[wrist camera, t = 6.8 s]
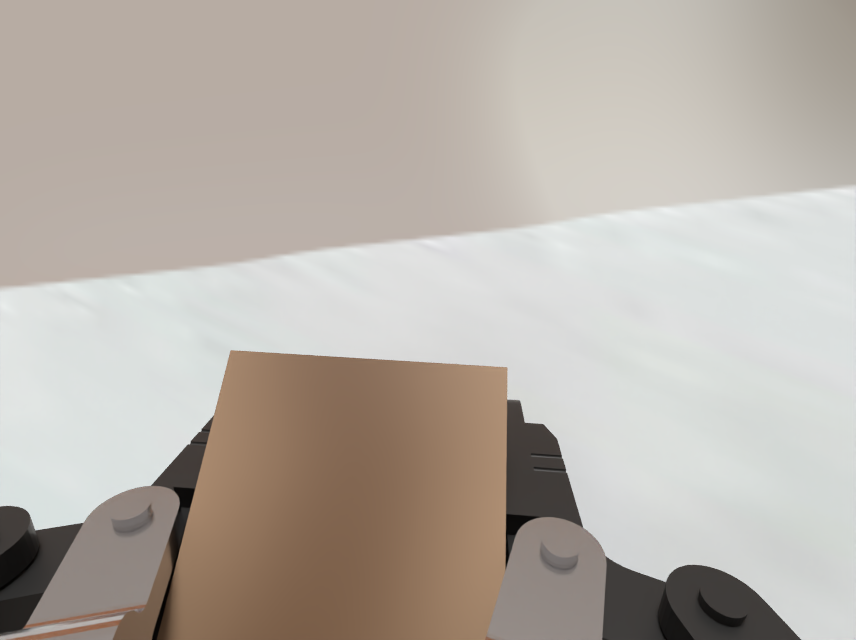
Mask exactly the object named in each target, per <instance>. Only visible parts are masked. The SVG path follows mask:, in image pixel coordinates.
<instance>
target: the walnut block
mask: <svg viewBox="0 0 856 640" xmlns="http://www.w3.org/2000/svg"><path fill="white" fill-rule="evenodd" d="M506 457H507V367H491V366H475V365H459V364H443V363H426V362H410V361H394V360H378V359H362V358H346V357H330V356H314V355H297V354H281V353H265V352H249V351H233V350H231V351H230V355H229V359H228V363H227V367H226V371H225V375H224V379H223V382H222V386H221V390H220V394H219V398H218V402H217V406H216V410H215V414H214V418H213V422H212V426H211V429H210V433H209V437H208V441H207V445H206V449H205V453H204V457H203V461H202V465H201V469H200V472H199V476H198V480H197V484H196V488H195V492H194V496H193V500H192V504H191V508H190V512H189V516H188V519H187V523H186V527H185V531H184V535H183V539H182V543H181V547H180V551H179V555H178V559H177V562H176V566H175V570H174V574H173V578H172V582H171V586H170V590H169V594H168V598H167V602H166V606H165V609H164V613H163V617H162V621H161V625H160V629H159V633H158V637H157V640H485V638H486V635H487V632H488V628H489V625H490V622H491V618H492V615H493V611H494V608H495V604H496V601H497V598H498V594H499V591H500V587H501V584H502V581H503V577H504V574H505V561H506Z"/></svg>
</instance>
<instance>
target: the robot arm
mask: <svg viewBox="0 0 856 640" xmlns="http://www.w3.org/2000/svg"><path fill="white" fill-rule="evenodd" d="M213 418H214V416H213V417H212V418H211V419H210V420H209V422H208V423H207V424H206V425H205V426H204V427H203V428H202V431H201V432H199V433H198V434H197V435H196V436H195V437H194V438H193V439H192V441H191V444H190V445H187V446H186V447H185V448H184V450H183V451H182V452H181V453H180V454H179V455H178V456H177V457H176V458H175V460H174V461H173V462H172V463H171V464H170V465H169V466H168V467H167V469H166V470H165V471H164V472H163V473H162V474H161V475H160V476H159V477H158V479H157V480H156V481H155V482H154V483H153V484H152V485H151V486H145V487H139V488H135V489H131V490H128V491H125V492H122V493H120V494H118V495H116V496H114V497H112V498H110V499H108V500H107V501H105V502H104V503H102V504H101V505H99V506H98V507H97V508H96V509H95V510H93V512H92V513H91V514H90V515H89V516H88V517H87V519H86V520H85V522H84V523H80V524H74V525H67V526H61V527H55V528H49V529H42V530H36V531H35V529H34V526H33V523H32V520H31V517H30V515H29V513H28V512H27V511H26V510H24V509H23V508H19V507H14V506H1V507H0V640H157V637H158V633H159V629H160V625H161V621H162V617H163V613H164V609H165V606H166V602H167V598H168V594H169V590H170V586H171V582H172V578H173V574H174V570H175V566H176V562H177V559H178V555H179V551H180V547H181V543H182V539H183V535H184V531H185V527H186V523H187V519H188V516H189V512H190V508H191V504H192V500H193V496H194V492H195V488H196V484H197V480H198V476H199V472H200V469H201V465H202V461H203V457H204V453H205V449H206V445H207V441H208V437H209V433H210V429H211V426H212V422H213ZM485 640H801V639H800V638H799V637H798V636H797V635H796V634H795V633H794V632H793V631H792V630H791V628H790V627H789V626H788V625H787V624H786V623H785V622H784V621H783V620H782V619H781V618H780V617H779V616H778V615H777V614H776V613H775V611H774V610H773V609H772V608H771V607H770V606H769V605H768V604H767V603H766V602H765V601H764V600H763V599H762V598H761V597H760V596H759V595H758V594H757V593H756V592H755V591H754V590H752V589H751V588H750V587H749V586H747V585H746V584H745V583H743V582H742V581H740V580H738V579H737V578H735V577H733V576H731V575H729V574H727V573H725V572H723V571H720V570H718V569H714V568H711V567H707V566H702V565H686V566H682V567H679V568H677V569H675V570H674V571H673V572H672V573H671V574H670V575H669V577H668V579H667V581H666V582H664V581H661V580H658V579H655V578H652V577H649V576H646V575H643V574H641V573H638V572H635V571H632V570H630V569H627V568H625V567H622V566H621V565H619V564H617V563H615V562H613V561H612V560H610V559H609V558H607V557H606V556H605V553H604V551H603V549H602V547H601V545H600V544H599V542H598V541H597V540H596V539H595V538H594V537H593V535H592V534H590V533H589V532H588V531H587V530H585V529H584V528H583V526H582V522H581V519H580V516H579V512H578V509H577V505H576V502H575V499H574V495H573V492H572V488H571V485H570V482H569V478H568V475H567V473H566V468H565V465H564V461H563V459H562V455H561V451H560V448H559V444H558V441H557V438H556V437H555V436H554V435H553V434H552V433H551V432H550V431H549V430H548V429H547V428H546V427H545V426H544V425H543V424H533V423H525V422H524V417H523V412H522V407H521V403H520V401H519V400H507V457H506V561H505V574H504V577H503V581H502V584H501V587H500V591H499V594H498V598H497V601H496V604H495V608H494V611H493V615H492V618H491V622H490V625H489V628H488V632H487V635H486V638H485Z"/></svg>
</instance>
